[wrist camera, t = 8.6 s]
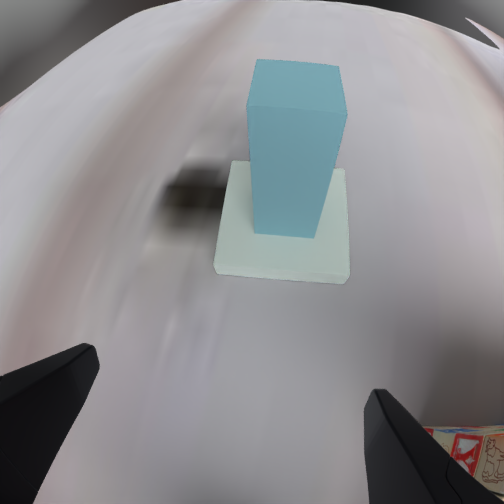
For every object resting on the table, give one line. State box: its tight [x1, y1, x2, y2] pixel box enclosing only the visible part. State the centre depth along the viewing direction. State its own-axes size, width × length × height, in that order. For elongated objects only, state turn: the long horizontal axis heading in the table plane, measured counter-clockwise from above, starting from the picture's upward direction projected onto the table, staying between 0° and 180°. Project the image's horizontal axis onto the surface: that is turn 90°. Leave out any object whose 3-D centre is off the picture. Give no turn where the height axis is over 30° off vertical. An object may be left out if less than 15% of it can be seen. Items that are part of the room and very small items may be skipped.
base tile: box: [213, 160, 350, 284], centre depth 25 cm, size 10×10×2 cm
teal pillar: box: [247, 59, 348, 239], centre depth 19 cm, size 4×4×12 cm
